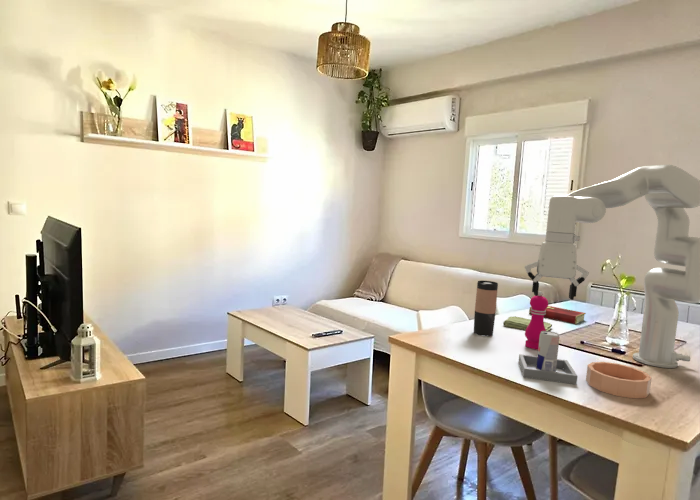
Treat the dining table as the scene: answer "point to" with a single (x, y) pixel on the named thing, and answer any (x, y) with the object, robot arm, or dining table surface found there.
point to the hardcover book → (563, 314)
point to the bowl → (618, 379)
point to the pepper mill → (536, 321)
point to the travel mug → (485, 308)
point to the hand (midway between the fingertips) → (553, 297)
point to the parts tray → (547, 375)
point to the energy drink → (548, 351)
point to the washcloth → (522, 323)
